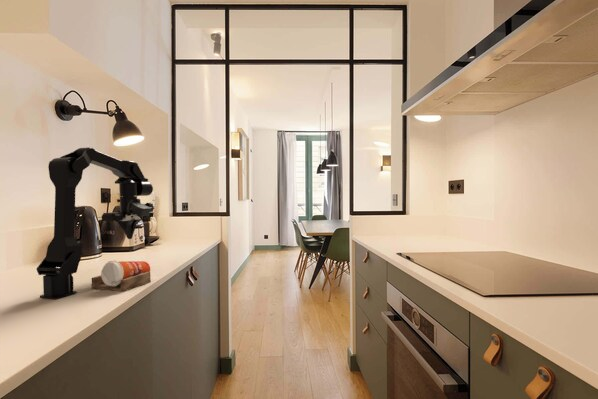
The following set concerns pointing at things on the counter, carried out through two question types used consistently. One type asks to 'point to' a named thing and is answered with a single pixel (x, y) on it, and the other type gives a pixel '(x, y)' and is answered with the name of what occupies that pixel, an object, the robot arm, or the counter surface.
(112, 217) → the robot arm
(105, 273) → the paper cup
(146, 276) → the u rest
